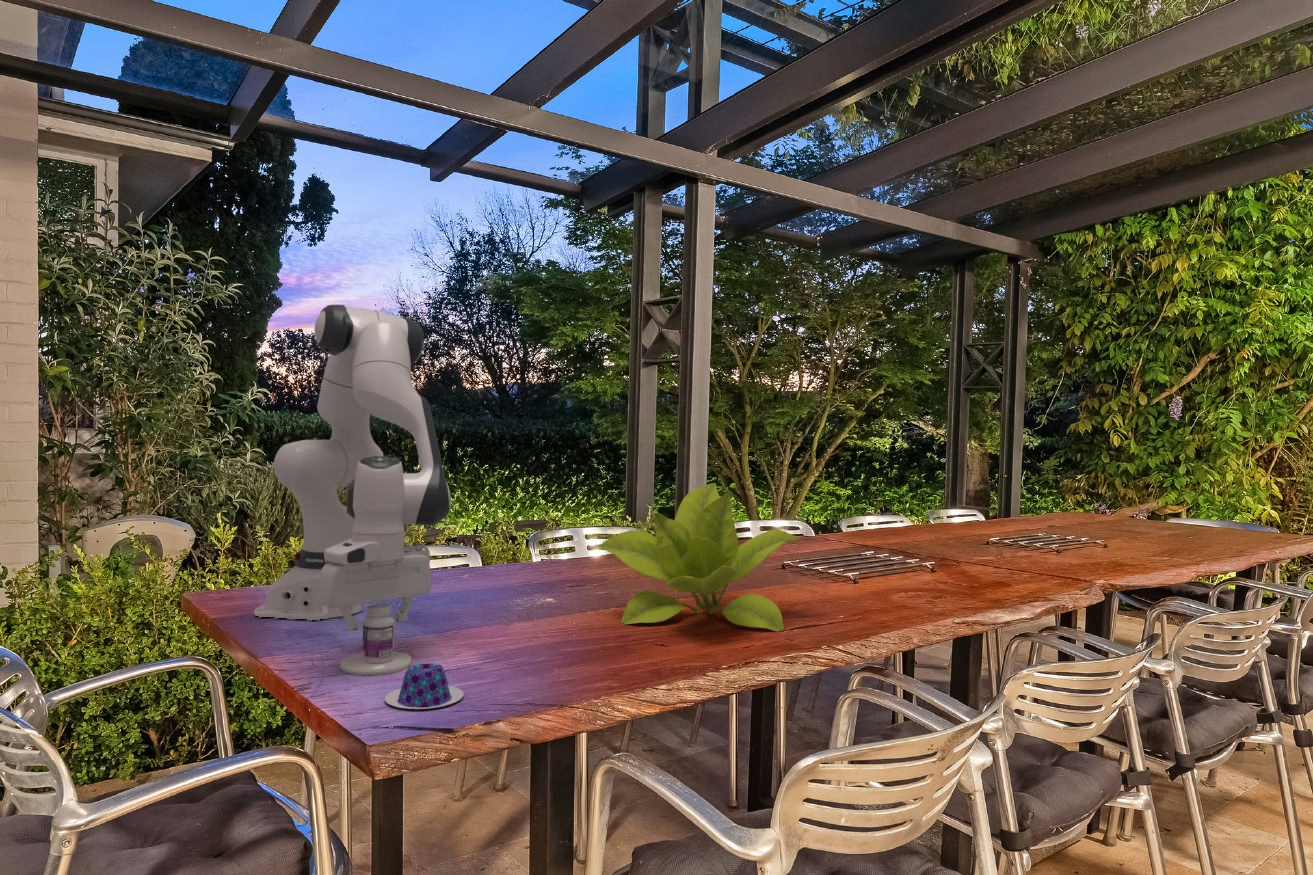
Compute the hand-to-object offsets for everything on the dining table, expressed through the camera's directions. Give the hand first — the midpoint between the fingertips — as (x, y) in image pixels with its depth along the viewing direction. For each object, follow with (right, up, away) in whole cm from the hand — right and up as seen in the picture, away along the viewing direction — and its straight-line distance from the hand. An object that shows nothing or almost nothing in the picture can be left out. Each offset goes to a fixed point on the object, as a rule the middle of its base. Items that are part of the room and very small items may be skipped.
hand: (377, 625), depth 149 cm
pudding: (+13, -8, -17) cm, 23 cm away
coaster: (0, -7, 0) cm, 7 cm away
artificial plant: (+60, -8, +40) cm, 72 cm away
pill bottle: (0, -6, 0) cm, 6 cm away
